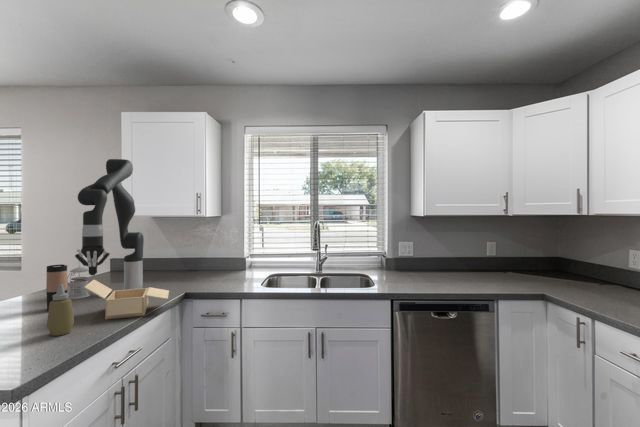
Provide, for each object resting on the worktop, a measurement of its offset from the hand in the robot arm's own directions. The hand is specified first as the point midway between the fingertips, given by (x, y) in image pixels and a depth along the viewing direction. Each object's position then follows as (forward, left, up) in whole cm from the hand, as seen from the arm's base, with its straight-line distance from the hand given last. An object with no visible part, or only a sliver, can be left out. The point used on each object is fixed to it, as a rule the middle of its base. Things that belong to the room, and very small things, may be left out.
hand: (92, 275), depth 147 cm
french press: (-42, -15, -18) cm, 48 cm away
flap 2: (0, +21, -9) cm, 23 cm away
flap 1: (0, +6, -9) cm, 11 cm away
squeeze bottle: (+22, -5, -18) cm, 29 cm away
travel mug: (-17, -17, -18) cm, 30 cm away
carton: (0, +14, -17) cm, 22 cm away
